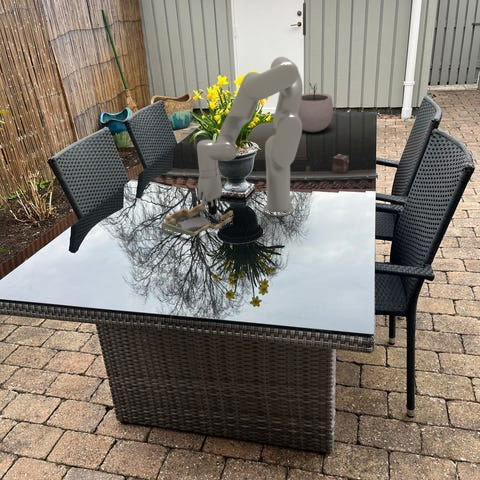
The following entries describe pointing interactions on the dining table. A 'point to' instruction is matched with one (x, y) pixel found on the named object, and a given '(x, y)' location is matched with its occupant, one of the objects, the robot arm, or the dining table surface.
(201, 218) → the stone block
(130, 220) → the dining table surface
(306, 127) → the plant pot
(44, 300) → the dining table surface
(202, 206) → the box
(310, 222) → the dining table surface
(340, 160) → the box
